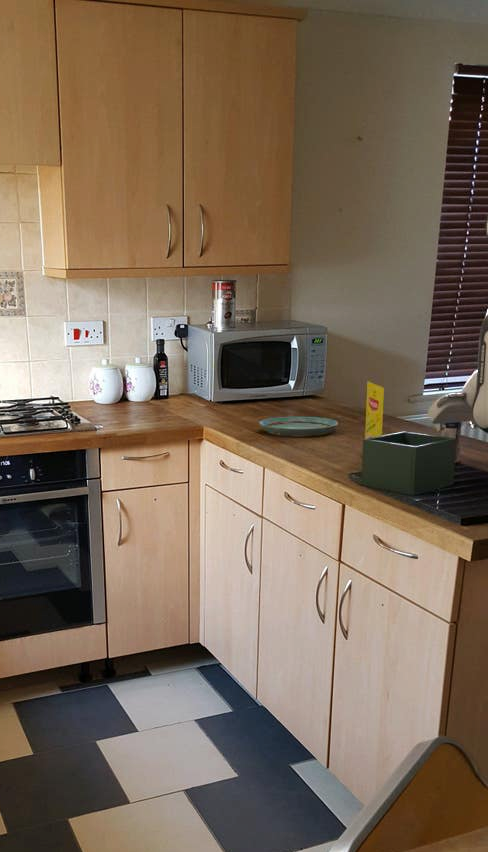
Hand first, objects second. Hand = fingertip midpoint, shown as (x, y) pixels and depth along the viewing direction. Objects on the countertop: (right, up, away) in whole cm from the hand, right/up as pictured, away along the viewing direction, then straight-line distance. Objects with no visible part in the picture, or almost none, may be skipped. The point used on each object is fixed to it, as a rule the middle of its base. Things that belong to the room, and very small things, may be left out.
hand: (455, 427), depth 219 cm
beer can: (0, -8, +5) cm, 10 cm away
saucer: (-31, +8, +56) cm, 64 cm away
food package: (-19, -8, +7) cm, 22 cm away
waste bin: (-17, -16, -18) cm, 30 cm away
